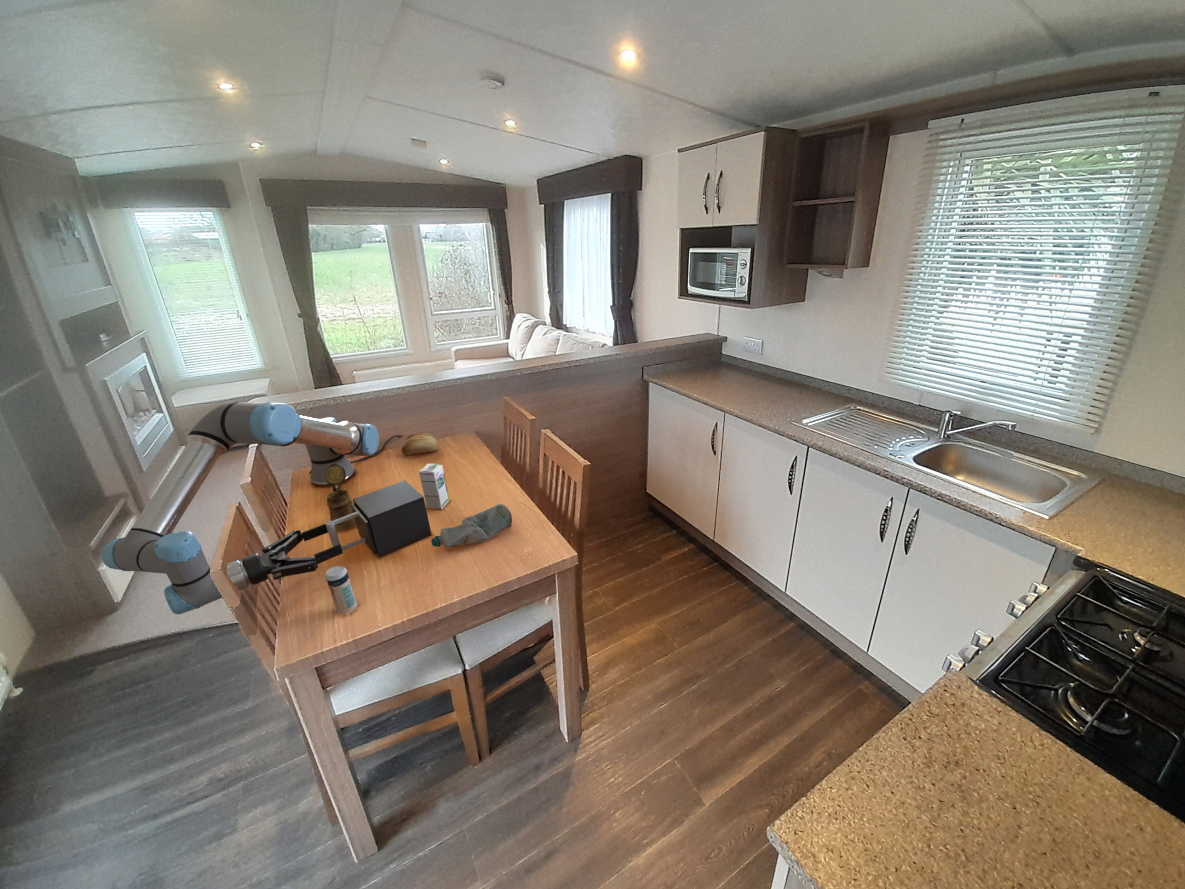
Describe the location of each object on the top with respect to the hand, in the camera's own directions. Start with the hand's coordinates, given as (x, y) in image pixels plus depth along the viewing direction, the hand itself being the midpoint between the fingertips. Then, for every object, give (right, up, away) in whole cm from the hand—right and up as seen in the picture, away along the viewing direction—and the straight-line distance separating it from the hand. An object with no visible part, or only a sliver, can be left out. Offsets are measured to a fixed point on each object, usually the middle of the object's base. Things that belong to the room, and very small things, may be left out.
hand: (334, 537), depth 134 cm
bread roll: (0, +23, +68) cm, 72 cm away
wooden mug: (-8, +1, +22) cm, 24 cm away
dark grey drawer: (+8, -3, +9) cm, 13 cm away
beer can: (+11, -15, -14) cm, 24 cm away
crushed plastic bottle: (+37, -2, +12) cm, 39 cm away
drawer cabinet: (+12, -2, +13) cm, 18 cm away
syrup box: (+20, +6, +29) cm, 36 cm away
